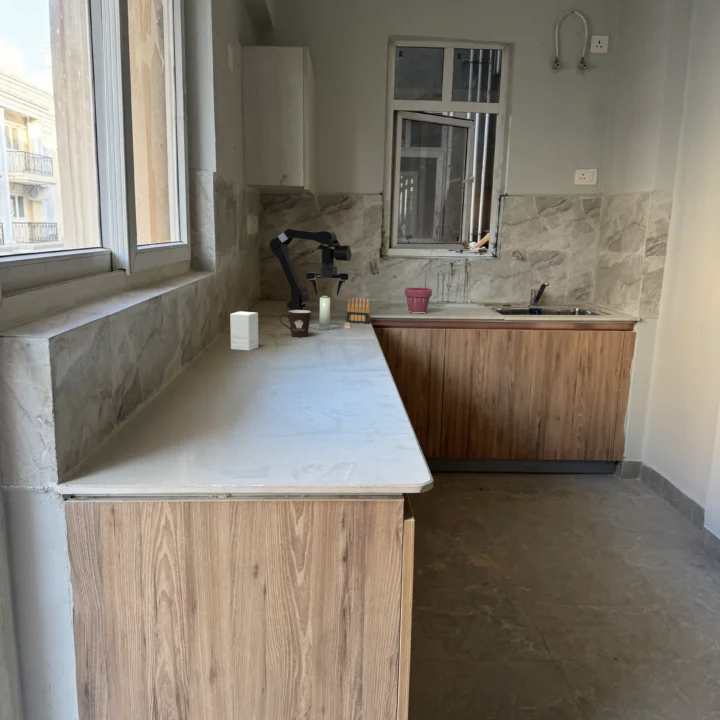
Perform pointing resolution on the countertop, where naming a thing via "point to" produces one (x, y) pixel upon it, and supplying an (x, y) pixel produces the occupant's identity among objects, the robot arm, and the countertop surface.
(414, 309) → the plant pot
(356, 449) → the countertop surface
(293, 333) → the coffee mug
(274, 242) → the robot arm
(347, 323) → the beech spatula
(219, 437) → the countertop surface
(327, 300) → the stoneware bottle
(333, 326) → the slate trivet
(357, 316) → the ammunition clip
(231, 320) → the supplement box
